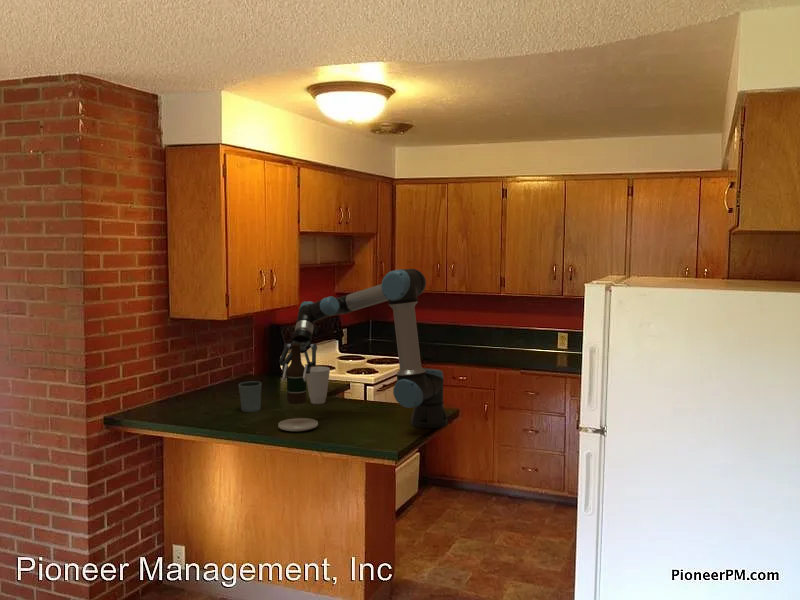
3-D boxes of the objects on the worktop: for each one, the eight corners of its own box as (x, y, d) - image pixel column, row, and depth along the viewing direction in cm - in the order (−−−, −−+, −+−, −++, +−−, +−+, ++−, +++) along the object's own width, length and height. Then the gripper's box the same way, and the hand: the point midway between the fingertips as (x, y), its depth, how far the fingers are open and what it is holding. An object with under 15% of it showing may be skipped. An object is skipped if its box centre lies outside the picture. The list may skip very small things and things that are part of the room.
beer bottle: (310, 401, 280) (309, 343, 278) (295, 405, 274) (294, 345, 272) (298, 398, 285) (297, 341, 283) (283, 402, 279) (282, 343, 277)
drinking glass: (266, 408, 312) (266, 382, 311) (250, 413, 304) (249, 386, 303) (250, 406, 318) (250, 380, 317) (234, 410, 310) (233, 384, 309)
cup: (313, 406, 317) (312, 372, 315) (300, 401, 326) (300, 368, 325) (335, 402, 324) (334, 369, 322) (322, 398, 333) (322, 365, 332)
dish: (323, 430, 276) (323, 425, 276) (284, 435, 270) (283, 430, 269) (311, 421, 291) (311, 416, 291) (274, 425, 284) (273, 420, 284)
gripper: (328, 339, 292) (320, 385, 277) (281, 338, 294) (271, 384, 279) (325, 328, 286) (317, 374, 271) (277, 328, 288) (267, 373, 273)
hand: (294, 379), depth 275 cm, fingers closed on beer bottle, 7 cm apart
